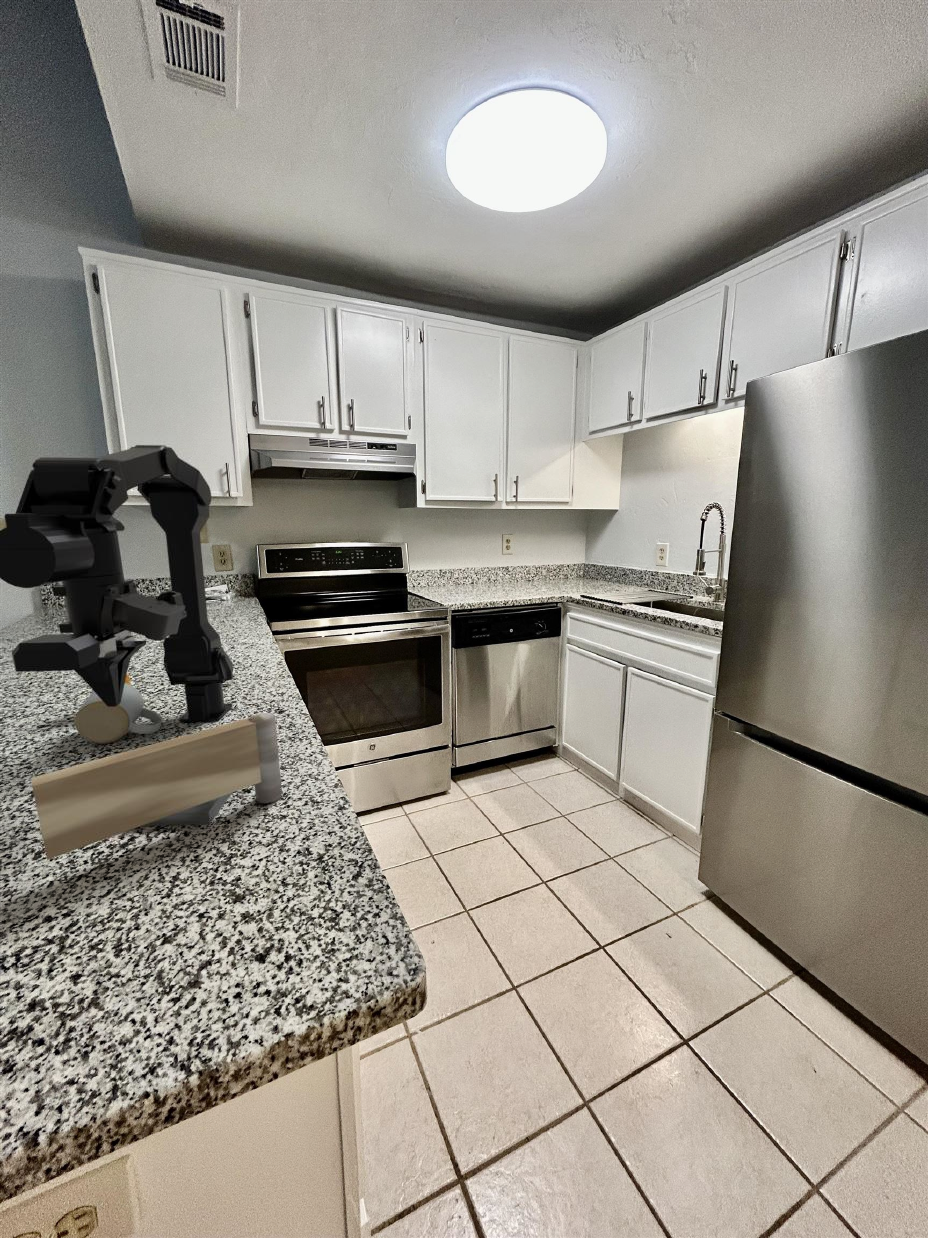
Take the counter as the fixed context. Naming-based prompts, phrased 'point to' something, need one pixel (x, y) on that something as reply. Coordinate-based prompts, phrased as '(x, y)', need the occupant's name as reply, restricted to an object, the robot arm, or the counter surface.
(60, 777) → the swing bar
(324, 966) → the counter surface
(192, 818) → the panel
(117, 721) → the ceramic mug
